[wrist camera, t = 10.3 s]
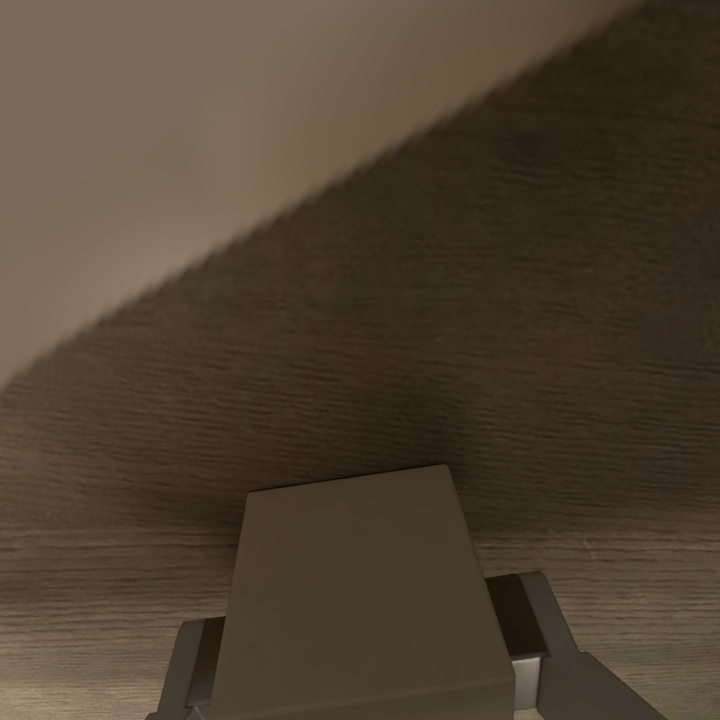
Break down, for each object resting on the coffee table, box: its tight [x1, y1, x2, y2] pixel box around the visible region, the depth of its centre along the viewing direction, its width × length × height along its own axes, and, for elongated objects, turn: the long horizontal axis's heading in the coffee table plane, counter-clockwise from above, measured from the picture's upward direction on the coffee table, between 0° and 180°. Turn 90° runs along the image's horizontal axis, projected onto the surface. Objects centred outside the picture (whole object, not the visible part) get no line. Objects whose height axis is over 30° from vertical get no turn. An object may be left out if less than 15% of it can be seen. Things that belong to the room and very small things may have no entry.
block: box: [208, 464, 516, 720], centre depth 10 cm, size 4×4×4 cm
